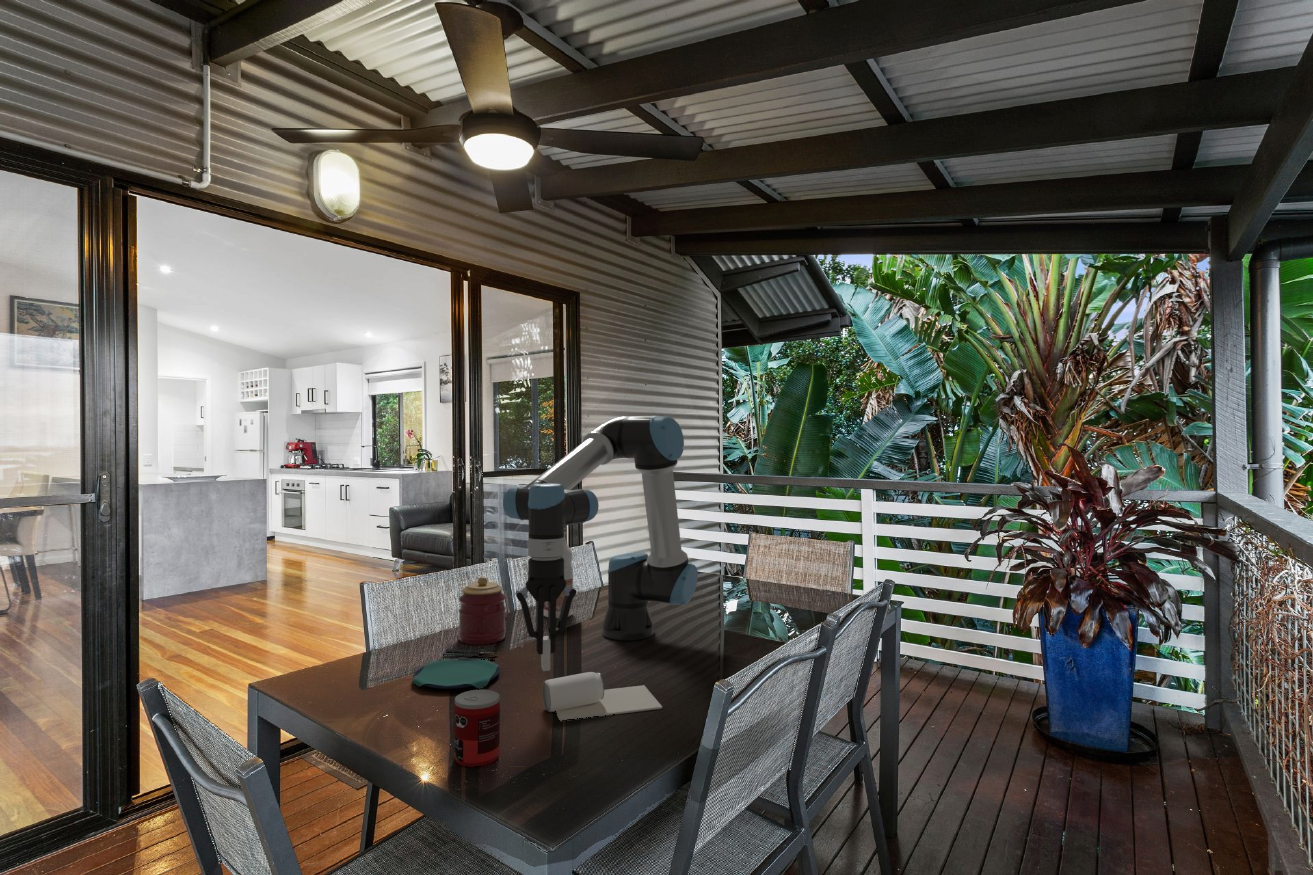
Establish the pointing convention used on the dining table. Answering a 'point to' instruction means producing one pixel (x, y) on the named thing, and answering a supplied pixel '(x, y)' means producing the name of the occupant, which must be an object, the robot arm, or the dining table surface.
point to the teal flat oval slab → (457, 672)
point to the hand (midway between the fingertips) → (545, 668)
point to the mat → (614, 703)
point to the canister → (482, 613)
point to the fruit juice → (568, 578)
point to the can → (572, 691)
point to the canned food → (476, 727)
